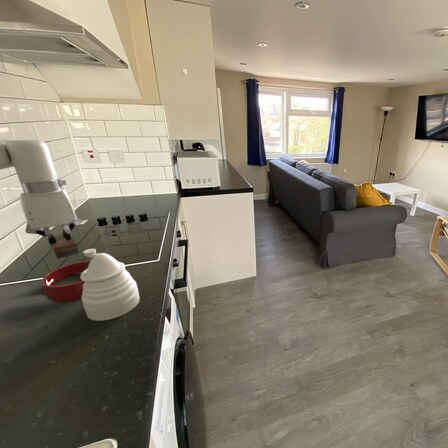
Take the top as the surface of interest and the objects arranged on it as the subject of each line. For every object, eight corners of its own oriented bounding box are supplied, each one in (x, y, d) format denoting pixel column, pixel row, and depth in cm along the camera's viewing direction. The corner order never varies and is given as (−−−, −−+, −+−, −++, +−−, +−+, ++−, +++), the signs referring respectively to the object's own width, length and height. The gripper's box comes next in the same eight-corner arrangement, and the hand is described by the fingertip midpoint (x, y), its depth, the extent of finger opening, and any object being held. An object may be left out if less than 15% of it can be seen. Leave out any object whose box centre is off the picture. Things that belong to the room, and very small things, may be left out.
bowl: (34, 305, 75) (27, 289, 73) (66, 277, 89) (61, 262, 87) (94, 299, 78) (89, 283, 76) (116, 272, 92) (112, 258, 90)
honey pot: (80, 326, 68) (59, 265, 61) (92, 298, 78) (75, 244, 72) (138, 312, 73) (123, 255, 66) (141, 287, 84) (129, 236, 77)
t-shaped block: (50, 247, 79) (46, 237, 77) (71, 241, 82) (68, 232, 81) (57, 259, 72) (53, 248, 71) (79, 253, 75) (76, 242, 74)
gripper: (75, 180, 80) (91, 235, 87) (-2, 189, 69) (24, 252, 75) (81, 184, 75) (98, 242, 82) (0, 194, 64) (27, 260, 71)
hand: (62, 246), depth 79 cm, fingers closed on t-shaped block, 2 cm apart
